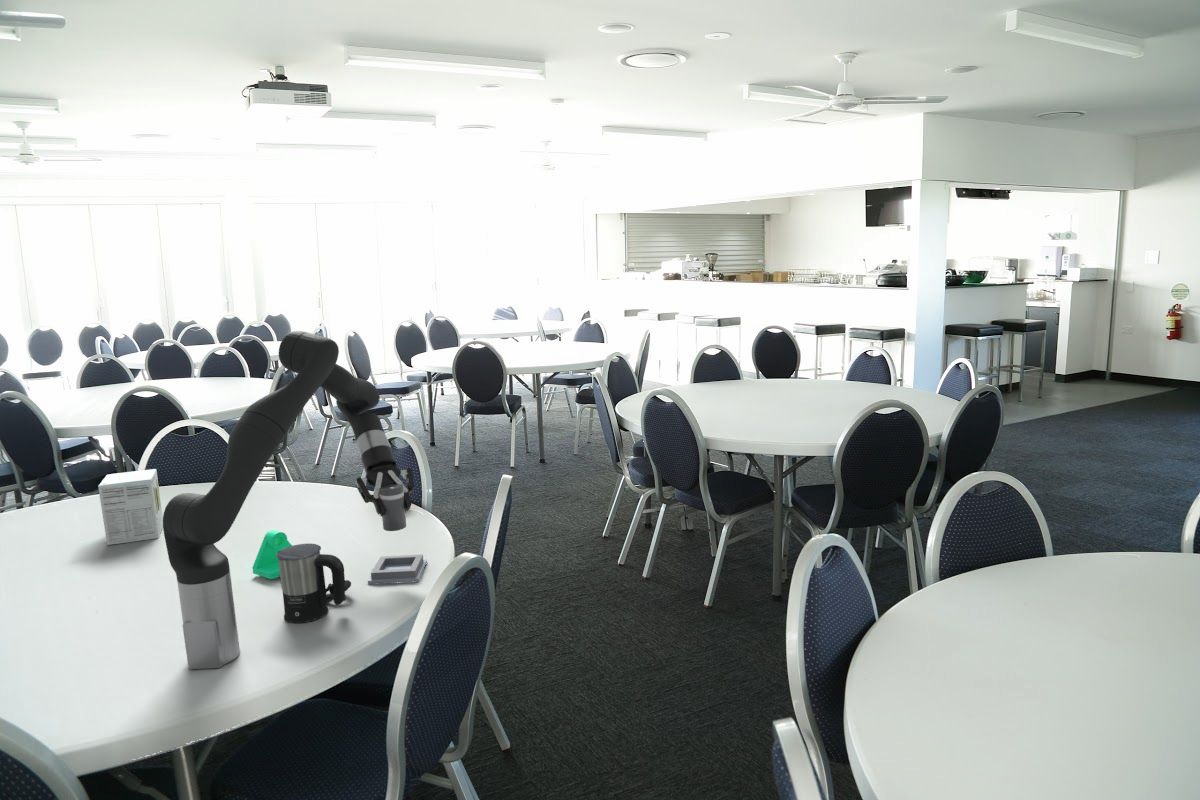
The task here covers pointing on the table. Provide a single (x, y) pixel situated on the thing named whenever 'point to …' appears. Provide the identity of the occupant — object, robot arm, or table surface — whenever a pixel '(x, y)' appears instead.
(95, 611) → the table surface
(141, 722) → the table surface
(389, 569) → the collar plate
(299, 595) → the milk frother
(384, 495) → the grey canister
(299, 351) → the robot arm
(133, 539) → the supplement box
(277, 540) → the camera mount
